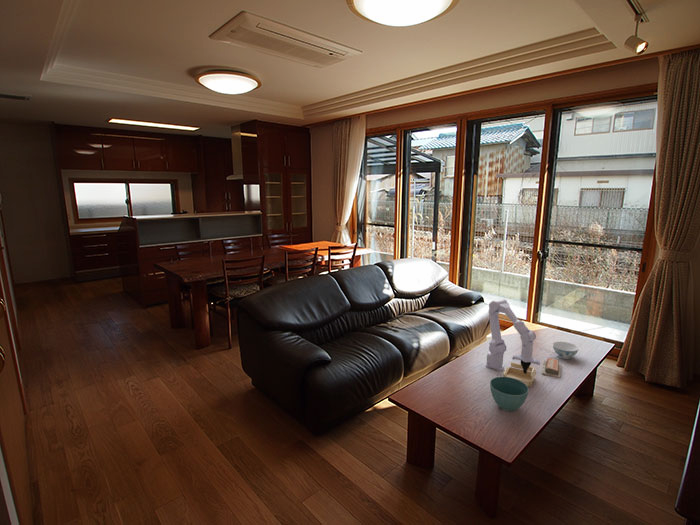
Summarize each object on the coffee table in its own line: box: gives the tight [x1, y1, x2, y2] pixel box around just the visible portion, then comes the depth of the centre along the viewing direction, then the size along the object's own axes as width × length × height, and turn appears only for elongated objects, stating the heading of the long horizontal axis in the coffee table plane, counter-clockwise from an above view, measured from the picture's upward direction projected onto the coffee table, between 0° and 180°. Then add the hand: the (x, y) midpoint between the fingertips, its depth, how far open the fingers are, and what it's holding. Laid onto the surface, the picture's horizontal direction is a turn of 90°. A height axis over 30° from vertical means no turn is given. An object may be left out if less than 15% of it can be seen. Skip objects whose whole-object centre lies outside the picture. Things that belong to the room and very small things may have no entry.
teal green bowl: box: [489, 376, 529, 412], centre depth 189 cm, size 18×18×12 cm
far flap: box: [530, 367, 537, 382], centre depth 212 cm, size 1×10×4 cm, turn 145°
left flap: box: [510, 361, 534, 372], centre depth 221 cm, size 12×1×4 cm, turn 56°
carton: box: [502, 366, 534, 388], centre depth 217 cm, size 16×13×3 cm
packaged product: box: [541, 357, 562, 379], centre depth 227 cm, size 18×5×10 cm
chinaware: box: [552, 341, 579, 360], centre depth 244 cm, size 15×15×8 cm
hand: (525, 372), depth 215 cm, fingers closed
